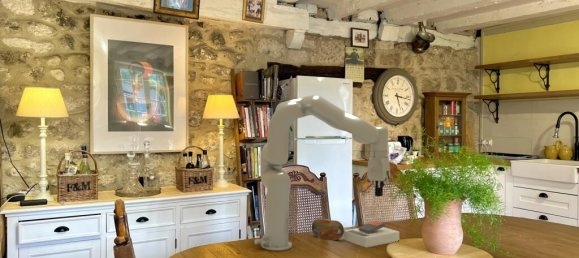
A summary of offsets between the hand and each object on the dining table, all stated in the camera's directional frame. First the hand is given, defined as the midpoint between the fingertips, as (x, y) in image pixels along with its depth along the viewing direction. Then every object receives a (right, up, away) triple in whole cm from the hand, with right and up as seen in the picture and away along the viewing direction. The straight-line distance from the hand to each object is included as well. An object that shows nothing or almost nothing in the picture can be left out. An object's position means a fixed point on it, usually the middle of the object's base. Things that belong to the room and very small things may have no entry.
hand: (378, 195), depth 190 cm
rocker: (-3, -13, -2) cm, 14 cm away
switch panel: (-4, -19, -2) cm, 20 cm away
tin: (-23, -19, 0) cm, 30 cm away
